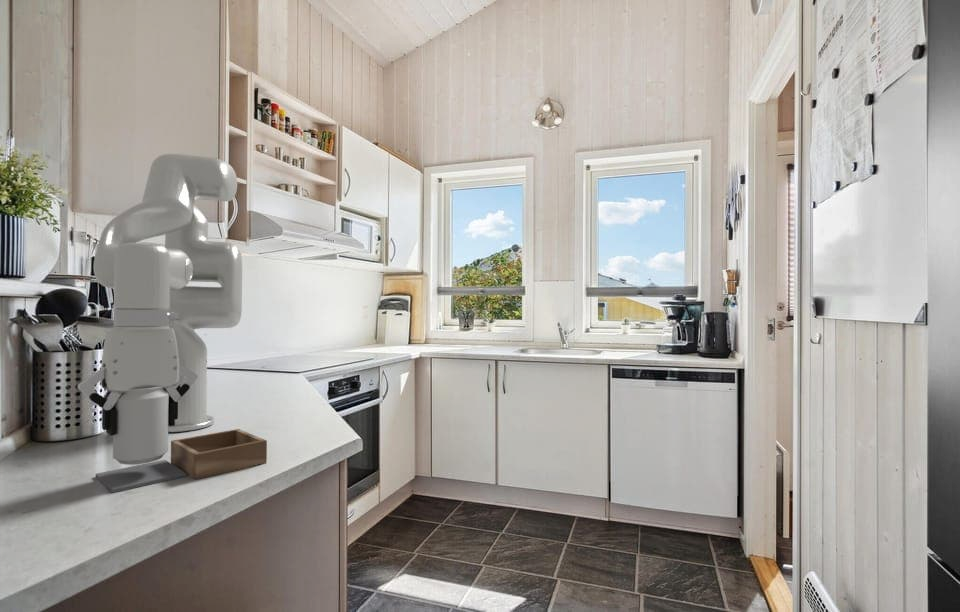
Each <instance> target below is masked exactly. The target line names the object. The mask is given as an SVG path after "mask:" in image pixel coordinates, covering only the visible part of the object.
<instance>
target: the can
mask: <svg viewBox="0 0 960 612" xmlns="http://www.w3.org/2000/svg"><path fill="white" fill-rule="evenodd" d="M162 387H163V386H159V387H153V388H145V389H129V390H128V392H126V393H122V394H121V395H120V397H119V398H118V400H117V401H116V403H115V404H114V409H116V410H117V434H115V435H112V459H114V460H115V461H117V462H118V463H119V464H121V465H127V466H128V465H130V466H134V465H142V464H147V463H152V462H157V461H159V460H160V459H162V458H163V456H164V455H165V454H167V453H168V452H169V432H168V409H169V394H168V392H167V391H166V390H164V389H162Z"/></svg>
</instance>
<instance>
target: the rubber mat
mask: <svg viewBox="0 0 960 612" xmlns="http://www.w3.org/2000/svg"><path fill="white" fill-rule="evenodd" d="M185 477H187V474H186V473H185V472H183V471H182V470H180V469H179V468H177V467H176V466H174V465H173V464H171V462H170V461H168V460H167V459H163V460H156V461H152V462H148V463H143V464H136V465H131V466H127V467H122V468H118V469H113V470H108V471H107V470H106V471H103V472H99V473H95V478H96V479H97V480H98V481H99V482H100V483H101V484H103V486H104V487H106V489H108V491H109V492H110V493H112V494H113V493H118V492H123V491H127V490H131V489H135V488H141V487H145V486H148V485H149V486H150V485H152V484H159V483H162V482H168V481H171V480H176V479H180V478H185Z"/></svg>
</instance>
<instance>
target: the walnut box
mask: <svg viewBox="0 0 960 612" xmlns="http://www.w3.org/2000/svg"><path fill="white" fill-rule="evenodd" d="M267 443H268V440H267V439H265V438H261V437H259V436H256V435H254V434H252V433H249V432H247V431H245V430H242V429H240V428H236V429H231V430H224V431H220V432H219V431H218V432H214V433H207V434H202V435H197V436H191V437H186V438H185V437H184V438H180V439H174V440H171V441H170V463H171V464H173V465H174V466H176V467H177V468H179V469H180V470H182V471H183V472H185V473H186V475H189V477H191V478H193V479H194V480H199V479H203V478H204V477H205V478H208V476H209V477H212V476H213V477H214V476H217V474H218V475H222V474H226V473H230V472H233V470H235V471H239V470H243V469H247V468H250V467H249V466H252V467H254V466H253V465H256V466H259V465H258V464H260V465H263V464H262V463H265V464H267V463H266V462H267V460H268V459H267V454H268V449H267V448H268V447H267V445H268V444H267ZM246 467H247V468H246ZM242 468H243V469H242ZM238 469H239V470H238ZM229 471H230V472H229ZM225 472H226V473H225ZM221 473H222V474H221Z"/></svg>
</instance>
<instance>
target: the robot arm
mask: <svg viewBox="0 0 960 612" xmlns="http://www.w3.org/2000/svg"><path fill="white" fill-rule="evenodd" d="M237 190H238V179H237V173H236V171H235V170H234V167H233V166H232V165H231V164H229V163H228V162H226V161H225V160H223V159H219V158H217V157H216V158H215V157H211V156H210V157H209V156H202V155H201V156H200V155H190V154H180V153H164V154H161V155H159V156H156V158H155V159H154V160H153V161H152V162H151V165H150V169H149V173H148V176H147V181H146V185H145V189H144V193H143V195H142V200H141V202H140V203H138V204H135V205H133V206H132V207H129V208H128V209H126V210H124V211H123V212H121V213H120V214H118V215H117V216H116V217H114V218H112V219H111V220H110V221H109V222H108V223H107V224H106V225H105V227H104V228H103V230H102V232H101V234H100V237H99V241H98V243H97V247H96V249H95V250H96V251H95V254H94V259H93V274H94V277H95V279H96V281H97V282H98V284H100V285H101V286H102V287H105V288H107V289H112V290H113V328H109V329H108V328H107V330H106V331H105V332H106V334H105V338H104V342H103V348H102V357H101V364H100V365H101V367H100V368H99V369H98V370H97V371H96V372H94V373H92V374H90V376H88V377H87V378H85V379H84V380H83V381H81V382H80V383H78V384H77V389H78V390H79V391H80V392H81V393H82V394H84V395H85V396H86V397H87V398H88V399H89V400H90V401H91V402H93V403H94V404H96V405H97V406H98V407H99V408H101V428H102V430H103V431H105V432H106V434H107V435H109V436H110V437H111V436H112V437H113V435H115V434H117V410H116V409H114V404H115V403H116V401H117V400H118V398H119V397H120V395H121V394H122V393H126V392H128V390H129V389H145V388H153V387H159V386H163V387H162V389H164V390H166V391H167V392H168V394H169V409H168V433H177V432H178V433H179V432H188V431H189V432H190V431H194V430H200V429H204V428H208V427H210V426H212V425H213V424H214V423H215V417H214V416H212V415H207V396H208V395H207V393H208V392H207V390H208V389H207V388H208V387H207V385H208V380H207V379H208V349H207V345H206V343H205V341H204V340H203V339H202V337H200V335H199V334H198V333H197V332H196V331H195V330H196V329H198V330H201V329H231V328H235V327H236V326H238V325H239V323H240V321H241V317H242V309H243V308H242V306H243V301H242V300H243V260H242V254H241V251H240V249H239V247H238V246H237V245H235V244H234V243H232V242H226V241H213V240H212V241H211V240H209V238H208V236H209V235H208V233H209V231H208V230H209V222H208V219H207V218H206V216H205V215H204V213H203V212H202V211H201V210H200V209H199V208H198V207H197V206H196V204H195V200H202V201H211V202H212V201H213V202H230V201H232V200H233V199H234V198H235V196H236V194H237ZM163 235H164V246H163V245H161V244H156V243H155V244H154V243H145V242H144V243H143V242H141V241H144V240H148V239H152V238H156V237H159V236H163ZM190 282H191V283H192V282H193V283H198V282H199V283H217V284H219V285H220V287H219V286H192V285H191V286H190V285H188V284H189V283H190ZM187 285H188V286H187ZM99 383H100V386H101V389H105V390H106V392H105V393H104V395H101V394H100V393H98V392H97V391H96V390H95V389H94V387H95V385H97V384H99Z"/></svg>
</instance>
